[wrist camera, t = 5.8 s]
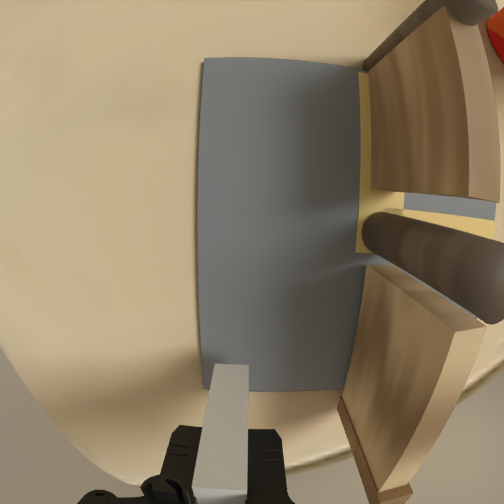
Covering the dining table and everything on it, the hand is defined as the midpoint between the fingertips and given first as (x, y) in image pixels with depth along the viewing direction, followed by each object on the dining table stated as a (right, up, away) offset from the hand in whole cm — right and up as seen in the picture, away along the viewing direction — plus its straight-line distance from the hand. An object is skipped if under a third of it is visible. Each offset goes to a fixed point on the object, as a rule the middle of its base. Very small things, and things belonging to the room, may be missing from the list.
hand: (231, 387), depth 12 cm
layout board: (+7, +7, +1) cm, 10 cm away
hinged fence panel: (+7, +1, +2) cm, 7 cm away
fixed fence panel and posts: (+7, +11, 0) cm, 13 cm away
